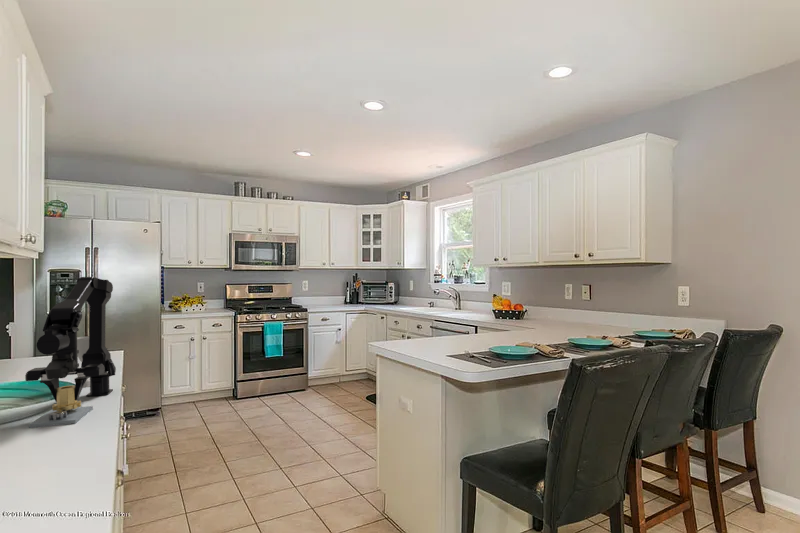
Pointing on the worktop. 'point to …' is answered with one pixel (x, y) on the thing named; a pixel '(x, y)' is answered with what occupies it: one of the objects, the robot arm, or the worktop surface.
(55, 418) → the plate
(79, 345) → the chalice
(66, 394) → the planet gear
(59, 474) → the worktop surface
